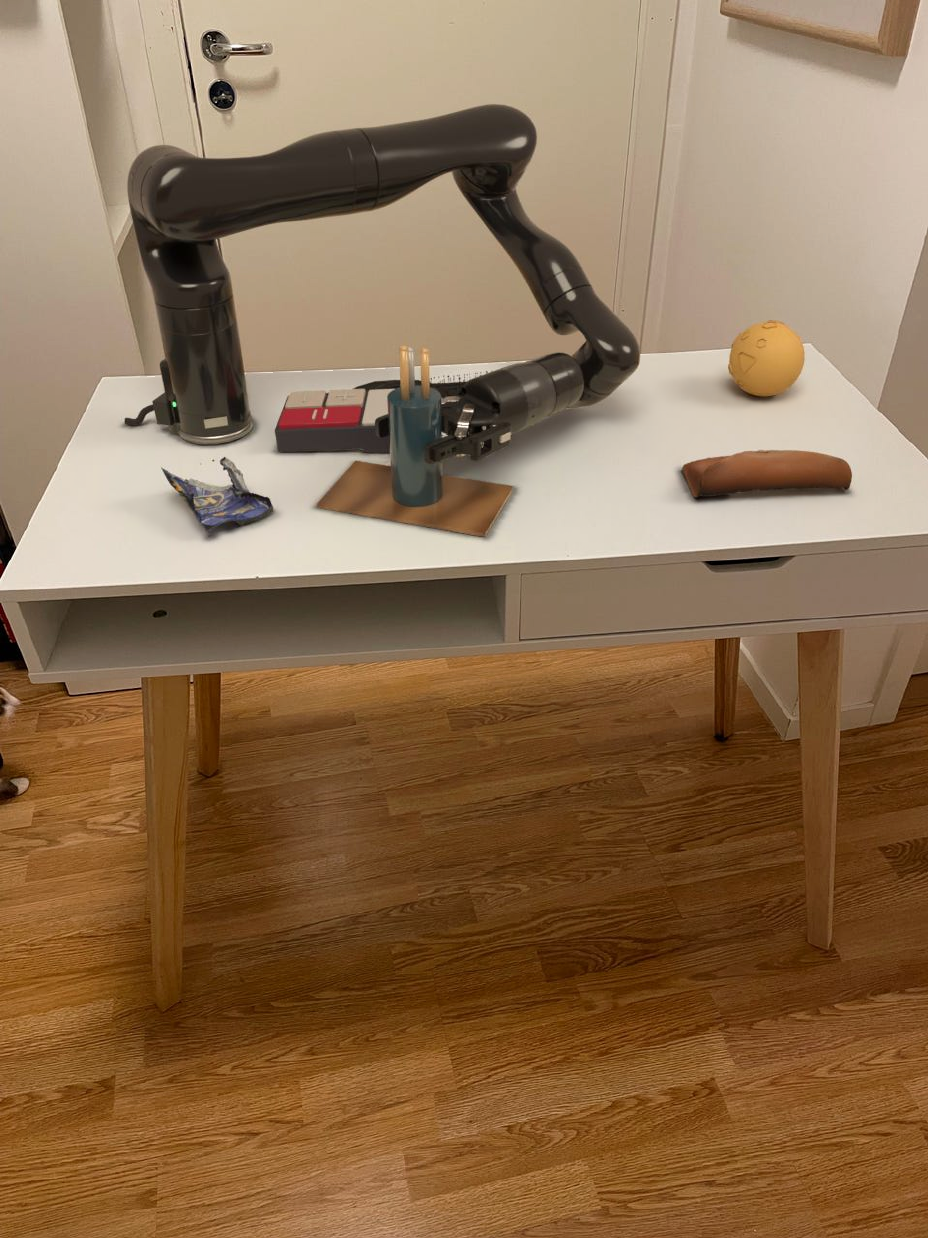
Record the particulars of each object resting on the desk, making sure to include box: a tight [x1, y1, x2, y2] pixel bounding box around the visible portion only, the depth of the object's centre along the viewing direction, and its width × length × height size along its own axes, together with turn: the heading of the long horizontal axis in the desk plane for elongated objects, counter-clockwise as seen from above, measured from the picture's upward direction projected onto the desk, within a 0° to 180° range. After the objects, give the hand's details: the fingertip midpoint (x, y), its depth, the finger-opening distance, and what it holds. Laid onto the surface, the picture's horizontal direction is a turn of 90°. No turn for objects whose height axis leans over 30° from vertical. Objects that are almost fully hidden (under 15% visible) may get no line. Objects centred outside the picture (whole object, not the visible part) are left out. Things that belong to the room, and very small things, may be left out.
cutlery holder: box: [387, 344, 443, 507], centre depth 105 cm, size 6×6×18 cm
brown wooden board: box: [316, 460, 514, 538], centre depth 111 cm, size 20×11×1 cm, turn 72°
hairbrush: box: [352, 370, 493, 398], centre depth 132 cm, size 8×4×25 cm
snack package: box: [160, 456, 274, 538], centre depth 107 cm, size 12×6×12 cm
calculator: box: [274, 388, 394, 454], centre depth 123 cm, size 11×4×15 cm
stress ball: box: [727, 319, 806, 397], centre depth 131 cm, size 10×10×10 cm
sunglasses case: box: [681, 449, 853, 499], centre depth 113 cm, size 18×7×7 cm, turn 96°
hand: (400, 441), depth 105 cm, fingers open, 8 cm apart
